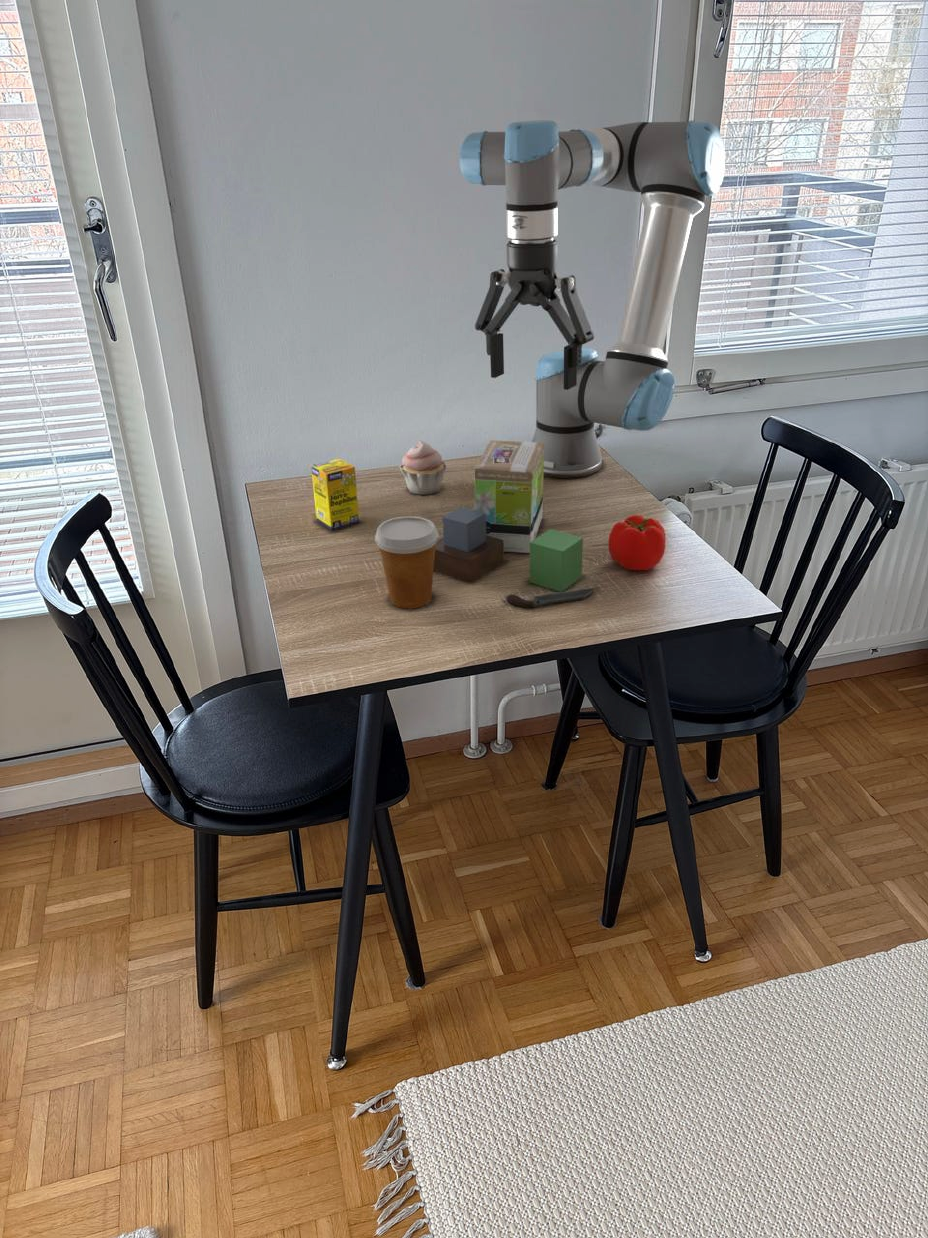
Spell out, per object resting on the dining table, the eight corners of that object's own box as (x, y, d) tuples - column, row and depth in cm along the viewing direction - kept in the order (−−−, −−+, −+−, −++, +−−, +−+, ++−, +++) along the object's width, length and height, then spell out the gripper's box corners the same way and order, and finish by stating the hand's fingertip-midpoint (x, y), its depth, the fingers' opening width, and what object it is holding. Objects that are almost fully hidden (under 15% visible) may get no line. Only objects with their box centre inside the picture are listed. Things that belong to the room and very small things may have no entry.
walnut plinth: (460, 548, 159) (459, 527, 157) (503, 562, 154) (503, 540, 152) (427, 568, 152) (426, 546, 150) (471, 582, 148) (470, 560, 146)
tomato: (626, 581, 147) (629, 537, 143) (598, 558, 154) (600, 516, 150) (677, 569, 149) (681, 526, 146) (647, 548, 157) (650, 506, 153)
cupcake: (402, 480, 187) (399, 432, 182) (449, 480, 186) (447, 431, 181) (398, 498, 179) (394, 449, 174) (446, 498, 178) (444, 448, 173)
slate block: (462, 534, 154) (461, 506, 152) (486, 541, 151) (485, 513, 149) (443, 545, 151) (442, 516, 148) (468, 552, 148) (467, 523, 146)
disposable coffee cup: (454, 598, 143) (451, 526, 137) (408, 620, 138) (402, 547, 132) (413, 578, 149) (409, 509, 143) (367, 599, 144) (360, 528, 138)
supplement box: (332, 531, 166) (325, 474, 161) (316, 521, 171) (309, 464, 165) (360, 523, 169) (355, 466, 164) (344, 513, 174) (338, 457, 168)
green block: (550, 568, 151) (550, 528, 148) (581, 577, 148) (583, 537, 145) (529, 582, 147) (529, 542, 144) (561, 592, 144) (562, 551, 140)
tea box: (532, 554, 156) (533, 471, 148) (473, 550, 158) (471, 468, 150) (543, 518, 169) (544, 440, 161) (489, 515, 170) (487, 437, 163)
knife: (513, 610, 139) (513, 606, 139) (505, 598, 142) (505, 594, 142) (601, 597, 142) (601, 593, 141) (591, 585, 145) (592, 582, 145)
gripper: (449, 238, 141) (456, 376, 152) (594, 248, 128) (590, 399, 139) (477, 230, 147) (482, 365, 157) (619, 239, 134) (614, 385, 144)
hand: (532, 381), depth 148 cm, fingers open, 13 cm apart
